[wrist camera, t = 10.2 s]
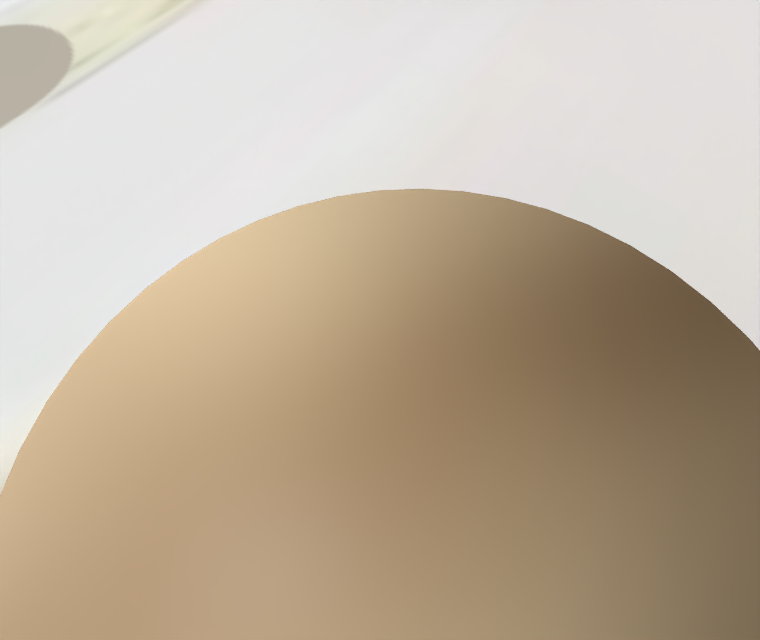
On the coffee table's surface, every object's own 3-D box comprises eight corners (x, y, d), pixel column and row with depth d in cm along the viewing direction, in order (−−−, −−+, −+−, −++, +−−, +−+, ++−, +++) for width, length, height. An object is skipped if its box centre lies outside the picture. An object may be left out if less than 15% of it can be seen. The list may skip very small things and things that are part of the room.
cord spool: (576, 606, 15) (1080, 557, 4) (405, 806, 13) (377, 1893, 2) (414, 437, 18) (423, 98, 6) (250, 587, 16) (-165, 495, 4)
